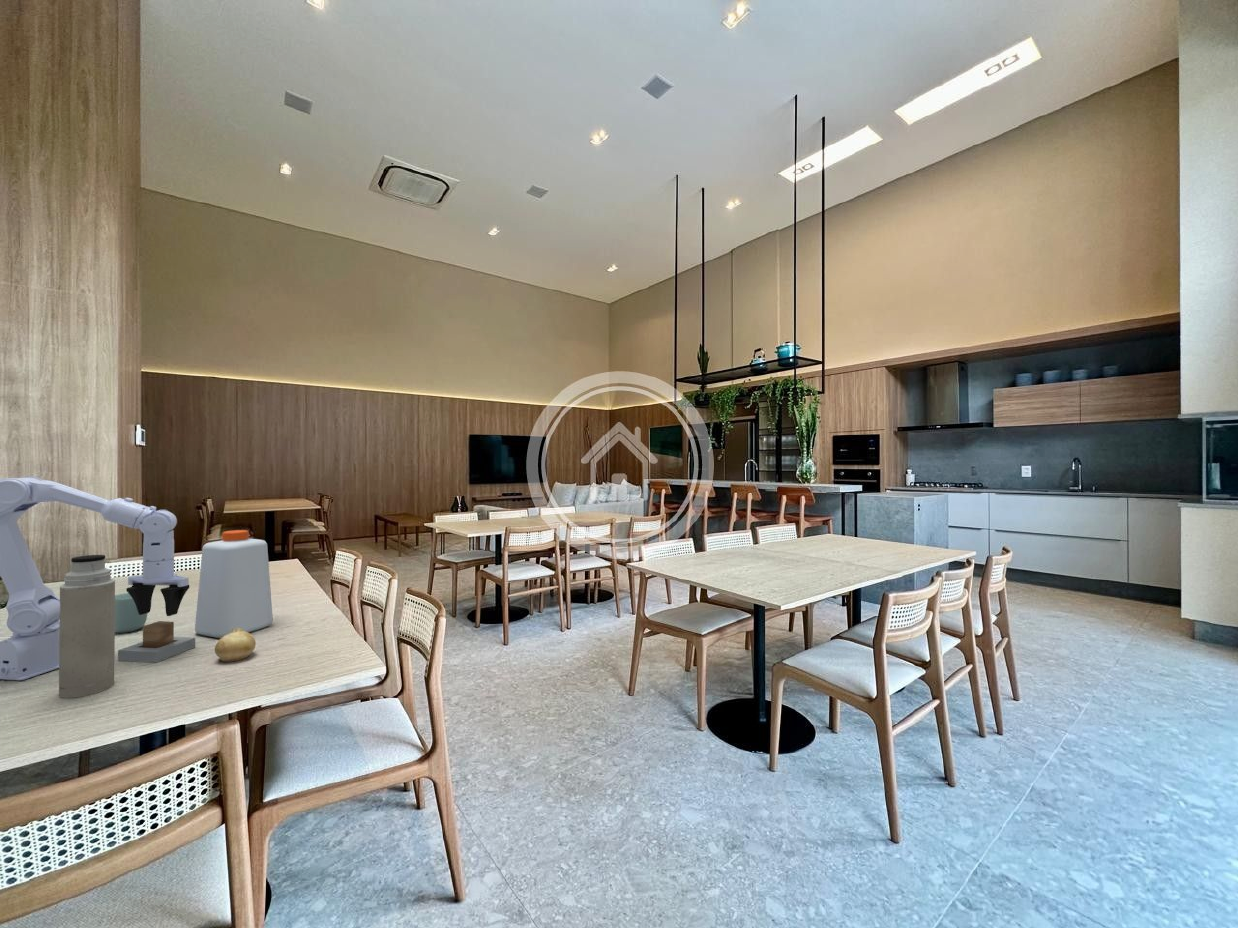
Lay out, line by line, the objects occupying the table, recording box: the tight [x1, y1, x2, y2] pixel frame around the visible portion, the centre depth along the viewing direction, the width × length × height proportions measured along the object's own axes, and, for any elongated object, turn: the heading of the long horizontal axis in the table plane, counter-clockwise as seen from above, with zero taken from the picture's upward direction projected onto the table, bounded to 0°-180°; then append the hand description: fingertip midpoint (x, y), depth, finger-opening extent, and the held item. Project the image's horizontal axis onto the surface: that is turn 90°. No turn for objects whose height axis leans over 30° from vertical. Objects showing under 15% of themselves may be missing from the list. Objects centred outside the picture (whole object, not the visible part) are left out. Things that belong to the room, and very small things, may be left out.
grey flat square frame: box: [117, 636, 196, 664], centre depth 125 cm, size 10×10×2 cm
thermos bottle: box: [58, 554, 116, 699], centre depth 105 cm, size 8×8×28 cm
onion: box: [214, 628, 257, 663], centre depth 122 cm, size 8×8×7 cm
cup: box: [115, 592, 149, 634], centre depth 141 cm, size 8×8×10 cm
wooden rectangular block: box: [142, 620, 175, 648], centre depth 125 cm, size 4×4×7 cm
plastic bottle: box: [194, 529, 274, 639], centre depth 143 cm, size 15×15×28 cm
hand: (158, 614), depth 125 cm, fingers open, 7 cm apart
